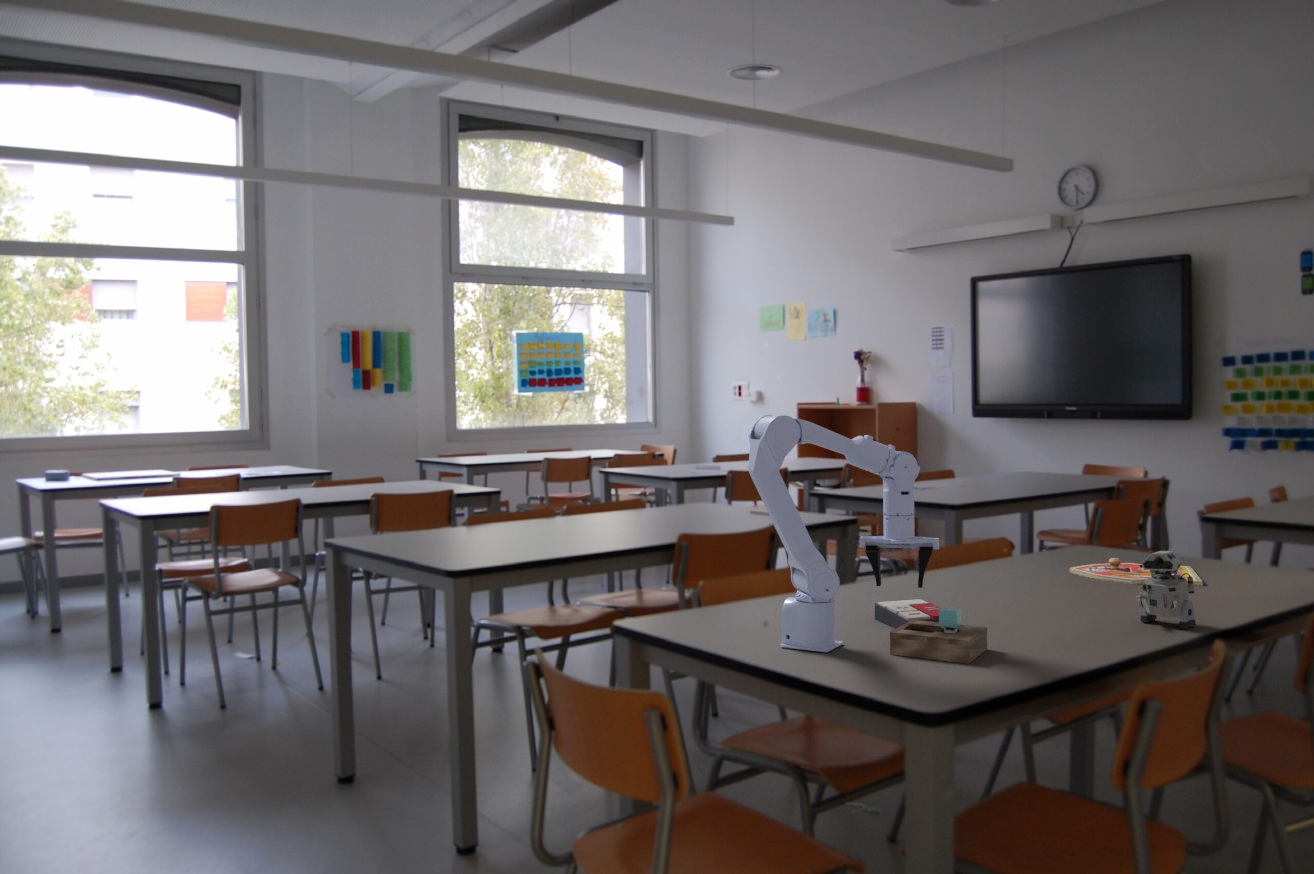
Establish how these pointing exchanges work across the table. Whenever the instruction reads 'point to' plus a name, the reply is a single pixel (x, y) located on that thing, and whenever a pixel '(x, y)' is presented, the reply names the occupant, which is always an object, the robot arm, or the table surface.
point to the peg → (950, 619)
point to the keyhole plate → (938, 641)
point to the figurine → (1166, 590)
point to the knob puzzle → (1127, 572)
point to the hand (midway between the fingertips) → (899, 586)
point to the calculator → (905, 612)
